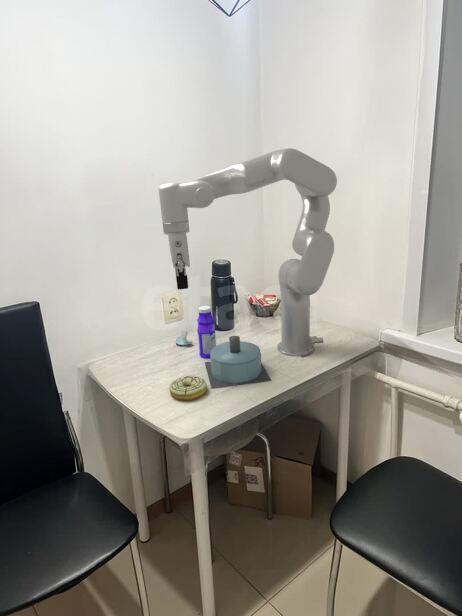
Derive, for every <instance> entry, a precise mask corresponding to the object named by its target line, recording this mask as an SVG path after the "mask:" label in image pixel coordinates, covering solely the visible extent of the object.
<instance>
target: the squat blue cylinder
mask: <svg viewBox="0 0 462 616" xmlns="http://www.w3.org/2000/svg"><path fill="white" fill-rule="evenodd" d="M240 338H241V337H240V336H239V335H231V336H229V340H228V341H227V342H226V341H225V342H223V343H219V344H216V346H215V347H214V348H212V350H211V351H210V358H209V360H210V361H211V371H212V375H213V377H214V378H216V379H217V380H219V381H221V382H228V383H241V382H248V381H250V380H252V379H254V378H256V377H258V376H259V374H260V372H261V363H262V353H261V348H260V347H259V346H258V345H257V344H255V343H252V342H249V341H241V339H240Z"/></svg>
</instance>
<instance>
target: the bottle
mask: <svg viewBox="0 0 462 616" xmlns="http://www.w3.org/2000/svg"><path fill="white" fill-rule="evenodd" d="M211 308H212V307H211V306H209V305H203V306H202V305H201V306H199V307H198V318H197V319H196V322H197V329H196V330H197V341H198V352H199V357H200V358H203V359H210V351H211V350H212V348H214V347H215V346H217V339H216V338H217V337H216V326H215V322H214V321H215V318H214V316H213V315H212V309H211Z"/></svg>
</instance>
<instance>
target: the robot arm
mask: <svg viewBox="0 0 462 616" xmlns="http://www.w3.org/2000/svg"><path fill="white" fill-rule="evenodd" d="M337 178H338V177H337V174H336V173H335V170H333V169H332V168H331V167H329V166H327V165H326V164H325V163H322V162H320V161H318V160H316V159H315V158H313V157H312V156H309V155H307V154H306V153H304V152H302V151H301V150H298V149H295V148H291V147H290V148H283V149H277V150H274V151H271V152H269V153H265V154H262V155H260V156H259V155H258V156H257V157H254V158H251V159H249V160H245V161H242V162H239V163H236V164H233V165H230V166H228V167H227V168H224V169H221V170H219V171H215V172H213V173H209V174H207V175H202V176H200V177H197V178H196V179H193V180H192V179H191V180H190V181H188V182H187V183H182V182H171V183H168V182H167V183H163V184H160V185H159V188H158V196H159V197H158V199H159V204H160V206H159V207H160V212H161V213H160V215H161V222H162V231H163V235H166V236H168V237H167V238H168V246H169V253H170V258H171V264H172V266H173V268H174V270H175V279H176V288H177V290H187V289H189V281H188V274H187V270H186V269H187V268H190V267H191V263H190V252H189V244H188V243H189V242H188V237H187V234H188V233H190V222H189V212H188V208H189V209H191V208H193V209H204V208H207V207H209V206H210V205H212V203H213V202H214V200H217V199H220V198H222V197H226V196H230V195H240V194H247V193H250V192H252V191H255V190H258V189H261V188H263V187H267V186H269V185H272V184H274V183H278V182H280V181H283V180H285V181H290V182H291V183H293V184H294V187H295V188H296V190H297V192H298V194H299V195H300V198H301V201H302V210H301V214H300V218H299V220H298V221H299V222H298V224H297V227H296V230H295V233H294V236H293V238H292V243H291V244H292V245H291V247H292V250H293V251H294V252H295V253H296V254H297V255H299V256H301V258H300V259H298V258H289V259H287V260H285V261H283V263H281V265H280V266H279V269H278V285H279V290H280V301H281V302H280V306H281V307H280V310H281V311H280V312H281V313H280V315H281V316H280V317H281V320H280V321H281V323H280V324H281V325H280V326H281V341H280V342H279V343H278V344H277V347H276V349H277V352H279V353H280V354H281V355H285V356H289V357H305V356H308V355H311V354H313V352H314V351H315V347H314V345H315V344H323V343H324V338H323V336H322V337H318V336H317V335H312V336H310V335H311V334H310V327H311V326H310V325H311V323H310V322H311V321H310V320H311V319H310V318H311V317H310V316H311V297H310V296H311V295H314V294H316V293H317V292H318V291H319V290H320V288H321V287H322V285H323V283H324V280H325V279H326V276H327V272H328V270H329V267H330V264H331V261H332V259H333V257H334V253H335V241H334V238H333V237H332V235H331V234H330V233H329V232H328V231H326V227H327V224H328V220H329V216H330V212H331V203H330V198H329V196H330V195H331V194H332V193H333V192H334V191H335V189H336V187H337V184H338V179H337ZM186 267H187V268H186Z"/></svg>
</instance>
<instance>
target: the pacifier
mask: <svg viewBox="0 0 462 616" xmlns="http://www.w3.org/2000/svg"><path fill="white" fill-rule="evenodd" d="M180 335H181V336H178V337H177V338H176V339H175V343H174V344H173V346H174V348H177V349H186V348H188V346H189V345H190V344H191V343H193V341H192V340H191V341H189V340H188V339H187V336H188V331H187V329H185V328H183V329H182V330H181V333H180Z"/></svg>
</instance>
